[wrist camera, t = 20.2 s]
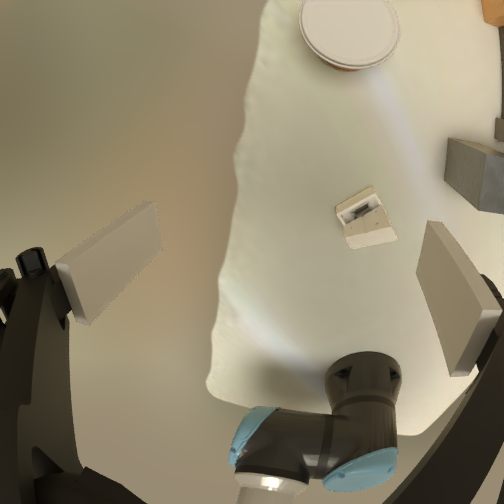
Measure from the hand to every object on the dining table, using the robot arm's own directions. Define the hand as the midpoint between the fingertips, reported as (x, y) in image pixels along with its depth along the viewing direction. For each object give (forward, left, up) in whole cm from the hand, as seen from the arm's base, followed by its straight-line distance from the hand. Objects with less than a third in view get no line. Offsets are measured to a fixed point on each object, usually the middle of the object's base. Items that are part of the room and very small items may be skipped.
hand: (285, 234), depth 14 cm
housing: (0, -28, -28) cm, 39 cm away
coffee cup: (+14, -4, -28) cm, 31 cm away
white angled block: (-8, -7, -28) cm, 30 cm away
